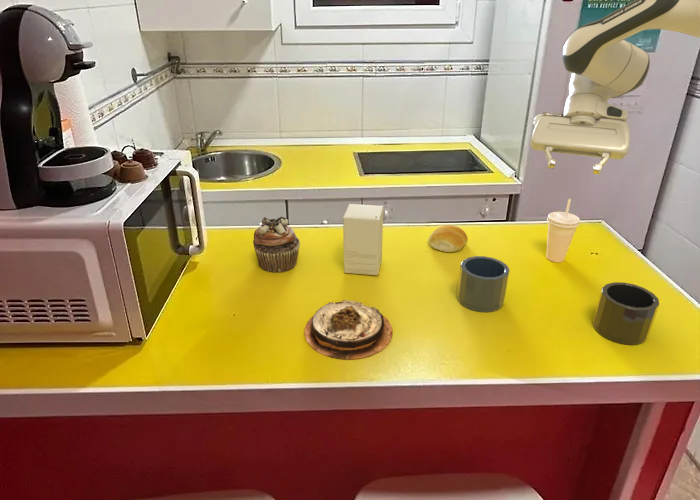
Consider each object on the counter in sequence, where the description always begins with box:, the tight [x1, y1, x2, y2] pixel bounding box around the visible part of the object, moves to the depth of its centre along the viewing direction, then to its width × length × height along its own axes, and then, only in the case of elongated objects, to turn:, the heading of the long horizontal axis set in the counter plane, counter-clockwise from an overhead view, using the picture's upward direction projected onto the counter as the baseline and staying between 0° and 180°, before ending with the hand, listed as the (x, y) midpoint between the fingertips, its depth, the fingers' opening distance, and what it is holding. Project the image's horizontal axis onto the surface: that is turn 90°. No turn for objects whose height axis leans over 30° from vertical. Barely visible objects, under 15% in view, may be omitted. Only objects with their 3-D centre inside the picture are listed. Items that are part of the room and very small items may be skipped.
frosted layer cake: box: [304, 299, 393, 360], centre depth 88 cm, size 15×15×4 cm
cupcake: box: [252, 216, 301, 274], centre depth 108 cm, size 10×10×10 cm
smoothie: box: [545, 198, 581, 263], centre depth 109 cm, size 6×6×14 cm
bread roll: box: [428, 224, 469, 253], centre depth 117 cm, size 8×9×4 cm
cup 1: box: [456, 255, 511, 313], centre depth 96 cm, size 9×9×7 cm
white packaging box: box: [342, 203, 384, 276], centre depth 106 cm, size 7×7×13 cm
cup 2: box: [592, 281, 660, 346], centre depth 88 cm, size 9×9×7 cm
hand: (573, 170), depth 114 cm, fingers open, 8 cm apart
